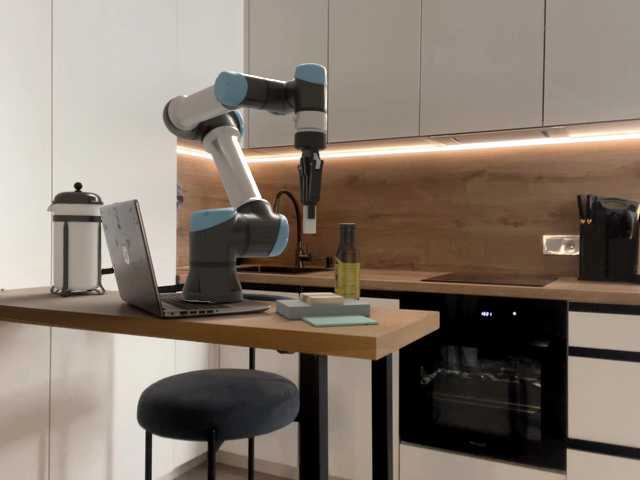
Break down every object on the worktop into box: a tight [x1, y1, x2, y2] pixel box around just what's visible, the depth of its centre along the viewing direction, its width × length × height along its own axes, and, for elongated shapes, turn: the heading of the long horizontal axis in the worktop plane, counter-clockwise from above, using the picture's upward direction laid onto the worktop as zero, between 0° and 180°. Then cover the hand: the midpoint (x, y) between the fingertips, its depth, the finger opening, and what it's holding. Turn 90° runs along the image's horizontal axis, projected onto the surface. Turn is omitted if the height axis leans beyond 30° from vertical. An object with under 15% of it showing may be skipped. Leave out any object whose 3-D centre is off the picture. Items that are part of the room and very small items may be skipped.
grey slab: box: [275, 298, 371, 320], centre depth 128 cm, size 11×18×2 cm, turn 108°
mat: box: [301, 314, 379, 328], centre depth 118 cm, size 10×13×1 cm
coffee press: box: [46, 181, 115, 298], centre depth 158 cm, size 17×16×30 cm
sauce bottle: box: [334, 222, 361, 301], centre depth 144 cm, size 6×6×20 cm
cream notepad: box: [299, 291, 344, 305], centre depth 128 cm, size 9×7×2 cm
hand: (309, 233), depth 137 cm, fingers closed
